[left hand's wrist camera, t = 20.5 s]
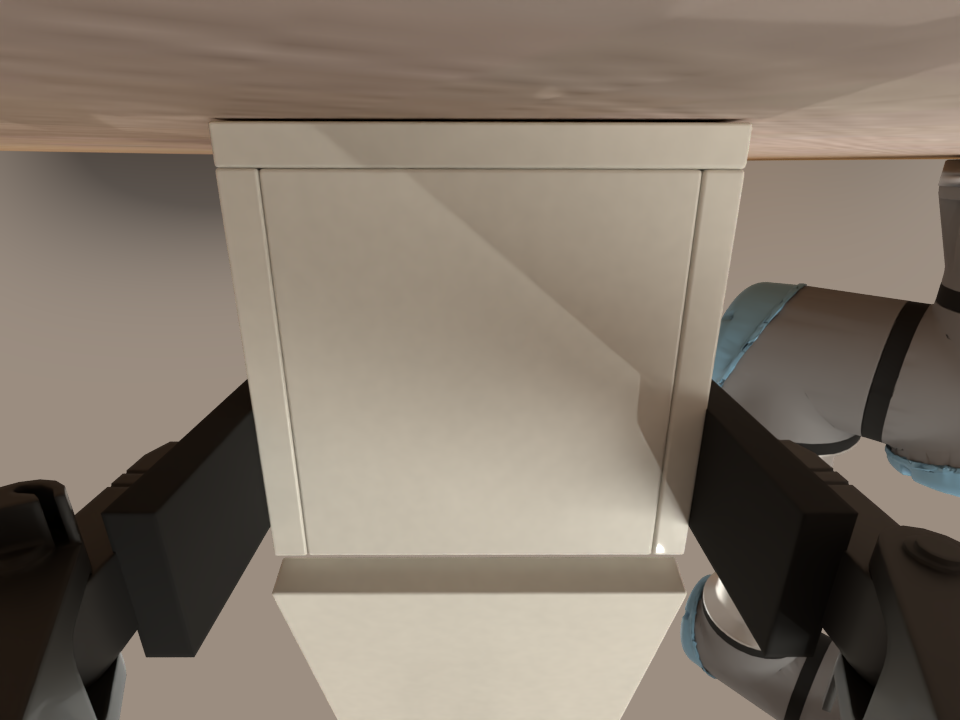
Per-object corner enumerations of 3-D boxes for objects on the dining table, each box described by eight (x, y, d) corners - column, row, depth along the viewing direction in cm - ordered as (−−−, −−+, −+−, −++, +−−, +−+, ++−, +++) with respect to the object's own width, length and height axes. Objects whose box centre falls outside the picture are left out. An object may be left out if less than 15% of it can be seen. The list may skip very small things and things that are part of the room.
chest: (572, 163, 24) (562, 337, 27) (385, 163, 24) (394, 336, 27) (754, 121, 8) (685, 556, 11) (206, 120, 8) (273, 556, 11)
